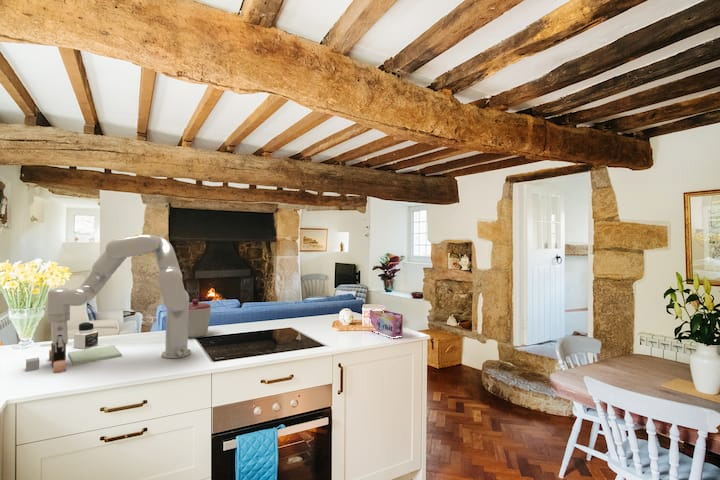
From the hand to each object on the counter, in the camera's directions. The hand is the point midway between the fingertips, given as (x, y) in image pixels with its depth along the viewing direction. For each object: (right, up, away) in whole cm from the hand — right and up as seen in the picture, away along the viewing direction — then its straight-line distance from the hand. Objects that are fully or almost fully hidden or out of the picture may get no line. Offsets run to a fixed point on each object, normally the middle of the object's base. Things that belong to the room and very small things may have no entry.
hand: (58, 359), depth 159 cm
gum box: (+146, -6, +65) cm, 160 cm away
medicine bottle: (-8, -3, +27) cm, 28 cm away
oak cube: (-7, -2, +7) cm, 10 cm away
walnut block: (0, -1, 0) cm, 1 cm away
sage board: (+6, -3, +13) cm, 15 cm away
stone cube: (-6, -2, -6) cm, 9 cm away
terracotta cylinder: (+7, -3, -7) cm, 10 cm away
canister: (+35, -4, +52) cm, 63 cm away
